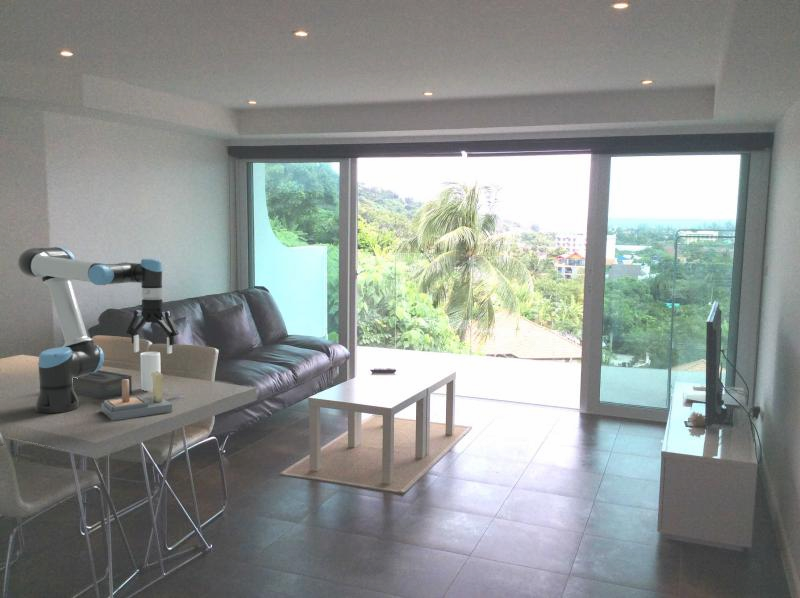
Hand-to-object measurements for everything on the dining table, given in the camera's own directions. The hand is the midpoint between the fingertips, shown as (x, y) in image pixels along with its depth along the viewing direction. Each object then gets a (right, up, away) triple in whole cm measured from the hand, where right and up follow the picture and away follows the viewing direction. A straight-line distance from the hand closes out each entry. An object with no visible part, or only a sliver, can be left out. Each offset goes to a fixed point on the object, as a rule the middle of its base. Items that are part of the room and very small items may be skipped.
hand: (153, 352), depth 264 cm
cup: (-14, -19, +35) cm, 43 cm away
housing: (-6, -23, -2) cm, 23 cm away
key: (-1, -19, +5) cm, 19 cm away
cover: (-9, -20, -5) cm, 22 cm away
